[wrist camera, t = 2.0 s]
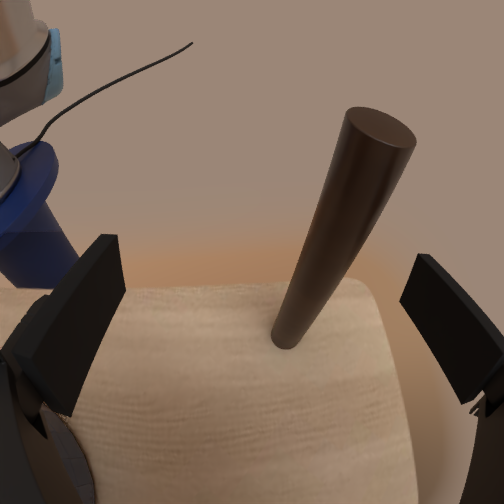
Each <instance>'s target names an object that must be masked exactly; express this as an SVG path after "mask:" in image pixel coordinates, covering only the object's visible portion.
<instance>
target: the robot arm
mask: <svg viewBox="0 0 504 504" xmlns="http://www.w3.org/2000/svg"><path fill="white" fill-rule="evenodd" d="M192 44H193V42H191V43H189V44H188V45H187V46H185V47H184V48H182V49H180V50H179V51H177V52H175V53H173V54H171V55H169V56H167V57H165V58H163V59H161V60H158V61H156V62H154V63H152V64H149V65H147V66H145V67H143V68H140V69H138V70H136V71H134V72H132V73H129V74H127V75H125V76H123V77H121V78H119V79H117V80H115V81H113V82H111V83H109V84H107V85H105V86H103V87H101V88H99V89H97V90H95V91H94V92H92V93H90V94H88V95H87V96H85V97H83V98H82V99H80V100H78V101H77V102H75V103H74V104H72V105H71V106H69V107H67V108H66V109H64V110H63V111H61V112H60V113H59V114H57V115H56V116H55V117H54V118H53V119H51V120H50V121H49V122H48V123H47V124H46V126H45V127H44V129H43V130H42V132H41V134H40V135H39V136H38V137H37V138H36V139H35V140H34V141H33V142H32V143H31V144H29V145H28V146H26V147H25V148H24V149H22V150H21V151H20V152H18V153H17V154H16V155H15V156H14V155H13V154H12V153H11V152H10V151H9V150H8V149H7V148H6V147H5V146H4V145H3V144H2V143H1V142H0V205H1V204H2V203H3V202H4V201H5V200H6V199H7V198H8V196H9V195H10V194H11V192H12V191H13V190H14V188H15V187H16V185H17V183H18V181H19V179H20V177H21V174H22V167H21V165H20V163H19V161H18V158H19V157H20V156H21V155H23V154H24V153H25V152H27V151H28V150H29V149H31V148H32V147H34V146H35V145H36V144H37V143H38V142H39V141H40V140H41V138H42V137H43V135H44V134H45V132H46V131H47V129H48V128H49V126H50V125H51V124H52V123H53V122H54V121H55V120H57V119H58V118H59V117H60V116H61V115H63V114H65V113H66V112H68V111H69V110H71V109H72V108H74V107H75V106H77V105H78V104H80V103H82V102H83V101H85V100H86V99H88V98H90V97H91V96H93V95H95V94H97V93H99V92H100V91H102V90H104V89H106V88H108V87H110V86H111V85H114V84H116V83H117V82H119V81H122V80H124V79H126V78H128V77H130V76H132V75H134V74H136V73H139V72H141V71H143V70H145V69H147V68H149V67H152V66H154V65H156V64H158V63H161V62H163V61H165V60H167V59H169V58H171V57H173V56H175V55H177V54H178V53H180V52H182V51H184V50H185V49H186V48H188V47H189V46H191V45H192ZM62 89H63V72H62V61H61V46H60V33H59V30H58V29H57V28H55V29H50V30H48V27H47V25H46V23H44V22H43V21H41V20H36V19H34V17H33V12H32V8H31V3H30V0H0V127H1V126H2V125H4V124H6V123H8V122H9V121H11V120H13V119H15V118H17V117H18V116H20V115H22V114H24V113H26V112H28V111H30V110H32V109H34V108H36V107H38V106H40V105H43V104H44V103H45V102H47V101H48V100H50V99H52V98H54V97H56V96H57V95H59V94H60V93H61V91H62ZM125 292H126V288H125V283H124V277H123V271H122V265H121V258H120V251H119V244H118V236H117V235H113V234H101V235H100V236H99V237H98V238H97V239H96V240H95V241H94V242H93V244H92V245H91V246H90V247H89V248H88V249H87V250H86V251H85V253H84V254H83V255H82V256H81V257H80V258H79V259H78V261H77V262H76V263H75V264H74V265H73V266H72V268H71V269H70V270H69V271H68V273H67V274H66V275H65V276H64V277H63V279H62V280H61V281H60V282H59V284H58V285H57V286H56V287H55V289H54V290H53V291H52V293H51V294H50V295H44V296H42V297H41V298H39V299H38V300H37V301H35V302H34V303H33V305H32V306H31V307H30V309H29V310H28V311H27V314H26V315H24V317H23V318H22V319H21V323H19V324H18V325H17V326H16V328H15V329H14V331H13V332H12V334H11V335H10V337H9V338H8V340H7V341H6V343H5V344H4V346H3V347H2V349H1V350H0V504H84V503H83V502H82V500H81V498H80V496H79V494H78V493H77V491H76V489H75V487H74V485H73V483H72V481H71V479H70V477H69V475H68V473H67V471H66V469H65V466H64V464H63V462H62V460H61V458H60V455H59V453H58V450H57V448H56V446H55V443H54V440H53V438H52V435H51V432H50V430H49V427H48V424H47V421H46V418H45V415H44V413H43V411H42V409H41V406H42V404H43V401H44V402H45V403H46V404H47V406H48V407H49V408H50V409H51V411H54V412H57V413H59V414H62V415H65V416H68V417H71V416H72V413H73V410H74V408H75V405H76V402H77V399H78V397H79V394H80V392H81V389H82V386H83V384H84V381H85V379H86V376H87V374H88V372H89V369H90V367H91V364H92V362H93V360H94V357H95V355H96V353H97V350H98V348H99V346H100V344H101V341H102V339H103V337H104V335H105V333H106V331H107V328H108V326H109V324H110V322H111V320H112V318H113V316H114V314H115V312H116V310H117V308H118V306H119V304H120V302H121V300H122V298H123V296H124V294H125ZM399 302H400V303H401V305H402V306H403V308H404V309H405V311H406V312H407V314H408V315H409V317H410V318H411V320H412V321H413V323H414V324H415V326H416V327H417V329H418V330H419V332H420V334H421V335H422V337H423V338H424V340H425V342H426V343H427V345H428V346H429V348H430V349H431V351H432V353H433V355H434V356H435V358H436V360H437V361H438V363H439V365H440V366H441V368H442V370H443V372H444V373H445V375H446V377H447V379H448V381H449V382H450V384H451V386H452V388H453V390H454V392H455V393H456V395H457V397H458V399H459V401H460V403H461V405H462V404H465V403H467V402H470V401H472V400H474V399H475V398H476V396H477V395H478V394H479V393H480V392H481V391H482V390H483V391H484V393H485V395H484V396H483V397H482V398H481V399H480V400H479V401H478V402H477V403H476V404H475V405H474V406H473V408H472V409H471V410H470V412H469V414H472V413H473V411H475V410H476V409H477V408H479V409H478V410H477V411H476V413H475V414H474V416H477V417H478V424H477V431H476V437H475V444H474V449H473V454H472V459H471V463H470V467H469V472H468V476H467V479H466V483H465V487H464V490H463V493H462V497H461V500H460V503H459V504H504V336H503V335H502V334H501V332H500V331H499V330H498V329H497V328H496V326H495V325H494V324H493V322H492V321H491V320H490V319H489V318H488V316H487V315H486V314H485V313H484V312H483V311H482V309H481V308H480V307H479V306H478V305H477V304H476V303H475V301H474V300H473V299H472V298H471V297H470V296H469V295H468V294H467V292H466V291H465V290H464V289H463V288H462V287H461V286H460V285H459V284H458V283H457V282H456V281H455V280H454V279H453V278H452V277H451V275H450V274H449V273H447V271H446V270H445V269H444V268H443V267H442V266H440V264H439V263H438V262H437V261H436V260H435V259H433V257H431V256H430V255H429V254H419V253H418V254H417V258H416V260H415V263H414V265H413V268H412V271H411V273H410V276H409V279H408V281H407V284H406V286H405V289H404V291H403V293H402V296H401V298H400V301H399Z"/></svg>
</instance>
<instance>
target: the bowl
mask: <svg viewBox="0 0 504 504" xmlns="http://www.w3.org/2000/svg"><path fill="white" fill-rule="evenodd" d="M41 409H42V411H43V413H44V415H45V418H46V421H47V424H48V427H49V430H50V432H51V435H52V438H53V440H54V443H55V446H56V448H57V450H58V453H59V455H60V458H61V460H62V462H63V464H64V466H65V469H66V471H67V473H68V475H69V477H70V479H71V481H72V483H73V485H74V487H75V489H76V491H77V493H78V494H79V496H80V498H81V500H82V502H83V503H84V504H95V500H94V486H93V480H92V477H91V474H90V471H89V468H88V465H87V462H86V459H85V456H84V454H83V453H82V451H81V449H80V447H79V446H78V444H77V442H76V440H75V438H74V436H73V434H72V433H71V432H70V430H69V429H68V428H67V427H66V426H65V424H64V423H63V422H62V421H61V420H60V418H59V417H58V416H57V415H56V414H55V413H54V412H53V411H51V410H50V409H49V408H48V407H46V406H45V405H44V404H42V406H41Z"/></svg>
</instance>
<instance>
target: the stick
mask: <svg viewBox="0 0 504 504" xmlns="http://www.w3.org/2000/svg"><path fill="white" fill-rule="evenodd" d="M416 143H417V142H416V137H415V136H414V134H413V133H412V131H411V130H410V129H409V128H408V127H407V126H405V125H404V124H403V123H401V122H400V121H399V120H397V119H395V118H394V117H392V116H390V115H388V114H386V113H383V112H381V111H378V110H375V109H371V108H366V107H352V108H350V109H348V110H347V111H346V114H345V117H344V121H343V124H342V128H341V131H340V134H339V138H338V141H337V144H336V148H335V151H334V154H333V158H332V161H331V164H330V167H329V171H328V174H327V177H326V180H325V183H324V186H323V190H322V193H321V196H320V199H319V202H318V205H317V208H316V211H315V214H314V217H313V220H312V223H311V226H310V229H309V231H308V234H307V237H306V240H305V243H304V246H303V249H302V251H301V254H300V257H299V260H298V263H297V265H296V268H295V271H294V274H293V276H292V279H291V282H290V284H289V287H288V290H287V293H286V295H285V298H284V300H283V303H282V306H281V308H280V311H279V314H278V316H277V319H276V321H275V324H274V326H273V329H272V332H271V338H272V341H273V343H274V344H275V345H276V346H277V347H279V348H281V349H291V348H293V347H295V346H296V345H297V344H298V343H299V341H300V340H301V338H302V337H303V336H304V334H305V333H306V331H307V330H308V329H309V327H310V326H311V324H312V323H313V322H314V320H315V319H316V317H317V316H318V314H319V313H320V312H321V310H322V309H323V307H324V306H325V304H326V303H327V301H328V300H329V298H330V297H331V295H332V294H333V292H334V291H335V289H336V288H337V286H338V285H339V283H340V281H341V280H342V278H343V277H344V275H345V274H346V272H347V270H348V269H349V267H350V266H351V264H352V262H353V261H354V259H355V257H356V256H357V254H358V253H359V251H360V249H361V248H362V246H363V244H364V243H365V241H366V239H367V237H368V236H369V234H370V232H371V231H372V229H373V227H374V225H375V224H376V222H377V220H378V218H379V216H380V215H381V213H382V211H383V209H384V207H385V205H386V204H387V202H388V200H389V198H390V196H391V194H392V193H393V190H394V189H395V187H396V185H397V183H398V181H399V179H400V177H401V175H402V173H403V171H404V168H405V167H406V165H407V163H408V161H409V159H410V157H411V155H412V153H413V150H414V148H415V146H416Z"/></svg>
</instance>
